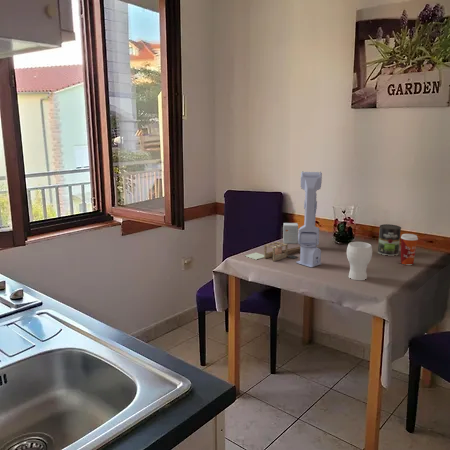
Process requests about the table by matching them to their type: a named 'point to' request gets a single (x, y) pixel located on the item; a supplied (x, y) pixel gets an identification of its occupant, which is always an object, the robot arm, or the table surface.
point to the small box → (290, 233)
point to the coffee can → (389, 239)
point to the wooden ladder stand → (272, 254)
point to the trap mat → (292, 256)
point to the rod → (292, 250)
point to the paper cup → (408, 248)
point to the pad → (255, 256)
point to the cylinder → (278, 250)
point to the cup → (358, 259)
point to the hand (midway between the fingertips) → (308, 246)
